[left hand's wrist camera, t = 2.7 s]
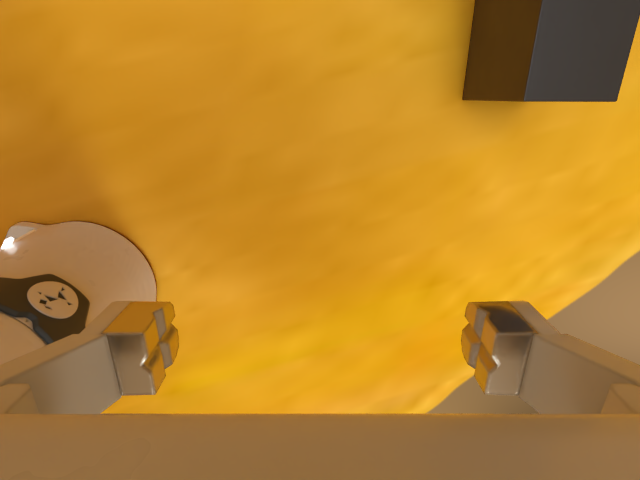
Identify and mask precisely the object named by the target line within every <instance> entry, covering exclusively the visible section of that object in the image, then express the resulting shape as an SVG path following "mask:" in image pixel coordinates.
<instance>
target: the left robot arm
mask: <svg viewBox="0 0 640 480" xmlns="http://www.w3.org/2000/svg"><path fill="white" fill-rule="evenodd" d="M174 317H175V312H174V307H173V305H172V304H171V302H156V282H155V278H154V275H153V272H152V270H151V267H150V265H149V264H148V262H147V260H146V259H145V257H144V256H143V255H142V253H141V252H140V251H139V250H138V249H137V248H136V247H135V246H134V245H133V244H132V243H131V242H130V241H129V240H127V239H126V238H125V237H123V236H122V235H120V234H118V233H117V232H115V231H113V230H111V229H109V228H106V227H104V226H101V225H98V224H94V223H89V222H80V221H71V222H63V223H58V224H53V225H42V224H37V223H32V222H19V223H17V224H15V225H13V226H12V227H10V228H9V230H8V232H7V235H6V238H5V240H4V243H3V245H2V247H1V248H0V480H640V365H638V364H636V363H633V362H631V361H629V360H626V359H624V358H622V357H619V356H617V355H615V354H612V353H610V352H608V351H605V350H603V349H601V348H598V347H596V346H594V345H591V344H589V343H587V342H584V341H582V340H580V339H577V338H575V337H573V336H570V335H568V334H560V333H559V332H558V331H557V330H556V329H555V328H554V327H553V326H552V325H551V324H550V323H549V322H548V321H547V320H546V319H545V318H544V317H543V316H542V315H541V314H540V313H539V312H538V311H537V310H536V309H535V308H534V307H533V306H532V305H531V304H530V303H529V302H526V301H497V302H469V303H468V305H467V307H466V311H465V317H466V319H467V320H468V322H469V324H468V325H467V326H466V327H465V328H464V329H463V330H462V337H461V345H462V352H463V355H464V358H465V360H466V362H467V364H468V365H470V366H471V367H473V368H474V369H475V374H474V376H475V378H476V380H477V382H478V384H479V385H480V387H481V389H482V391H483V392H484V394H485V395H519V398H521V399H522V400H523V401H525V402H526V403H527V404H528V405H530V406H531V407H532V408H534V409H535V410H536V411H537V412H539V413H540V414H100V413H101V412H103V411H104V410H105V409H107V408H108V407H109V406H110V405H112V404H113V403H114V402H116V401H117V400H118V399H120V398H121V395H155V394H156V392H157V391H158V389H159V387H160V385H161V384H162V382H163V380H164V378H165V376H166V374H165V369H166V368H167V367H169V366H170V365H172V364H173V362H174V360H175V358H176V355H177V351H178V347H179V336H178V330H177V329H176V328H175V327H174V326H173V325H172V324H171V322H172V320H173V319H174Z"/></svg>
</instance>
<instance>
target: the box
mask: <svg viewBox="0 0 640 480" xmlns="http://www.w3.org/2000/svg"><path fill="white" fill-rule="evenodd" d="M639 16H640V0H475V8H474V16H473V23H472V31H471V39H470V46H469V54H468V62H467V69H466V77H465V85H464V92H463V100H484V101H565V102H615V101H617V97H618V94H619V90H620V86H621V83H622V79H623V75H624V72H625V68H626V64H627V60H628V57H629V53H630V49H631V46H632V42H633V38H634V35H635V31H636V27H637V23H638V20H639Z"/></svg>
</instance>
